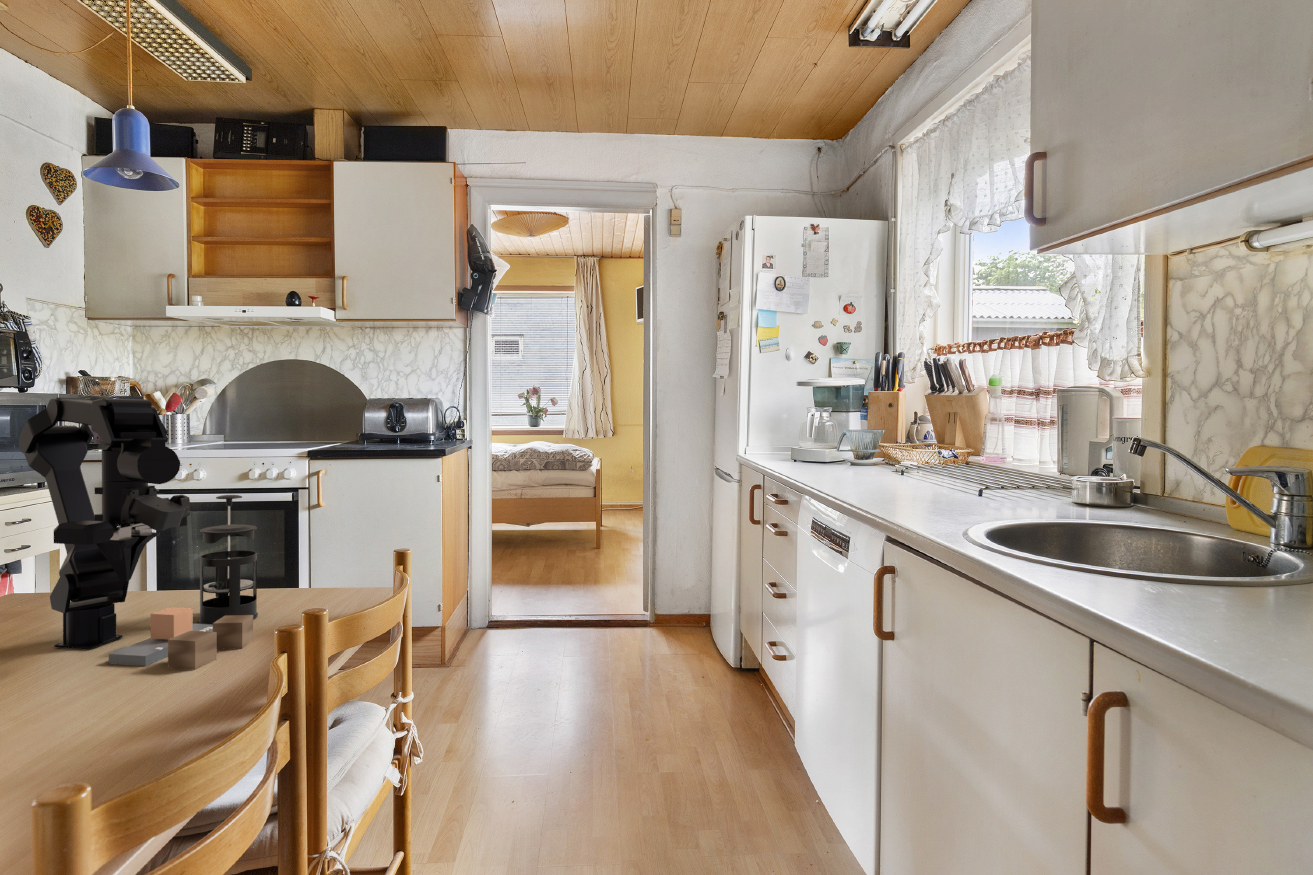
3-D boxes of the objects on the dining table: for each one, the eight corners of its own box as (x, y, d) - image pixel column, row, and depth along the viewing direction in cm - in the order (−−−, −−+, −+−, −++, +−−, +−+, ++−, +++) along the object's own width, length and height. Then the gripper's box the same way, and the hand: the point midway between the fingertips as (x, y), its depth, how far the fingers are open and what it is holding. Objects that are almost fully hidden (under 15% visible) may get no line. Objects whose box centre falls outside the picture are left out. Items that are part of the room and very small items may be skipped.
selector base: (108, 663, 107) (108, 652, 107) (188, 631, 123) (188, 621, 123) (145, 665, 107) (145, 654, 106) (220, 633, 122) (220, 623, 122)
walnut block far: (212, 650, 114) (212, 623, 114) (224, 641, 119) (224, 615, 119) (242, 649, 115) (242, 622, 115) (253, 640, 119) (253, 614, 119)
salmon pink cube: (150, 638, 114) (150, 613, 114) (170, 630, 118) (170, 607, 117) (173, 639, 113) (173, 614, 113) (192, 632, 117) (192, 608, 117)
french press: (265, 620, 130) (265, 496, 130) (205, 630, 124) (205, 499, 123) (248, 607, 139) (248, 490, 138) (191, 615, 132) (192, 493, 132)
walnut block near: (168, 668, 106) (168, 639, 106) (190, 658, 110) (190, 630, 110) (195, 670, 106) (195, 641, 105) (216, 660, 110) (216, 632, 110)
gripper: (122, 487, 99) (122, 598, 100) (217, 476, 118) (217, 569, 118) (49, 485, 100) (50, 594, 101) (155, 474, 119) (155, 566, 119)
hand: (125, 580), depth 110 cm, fingers closed
